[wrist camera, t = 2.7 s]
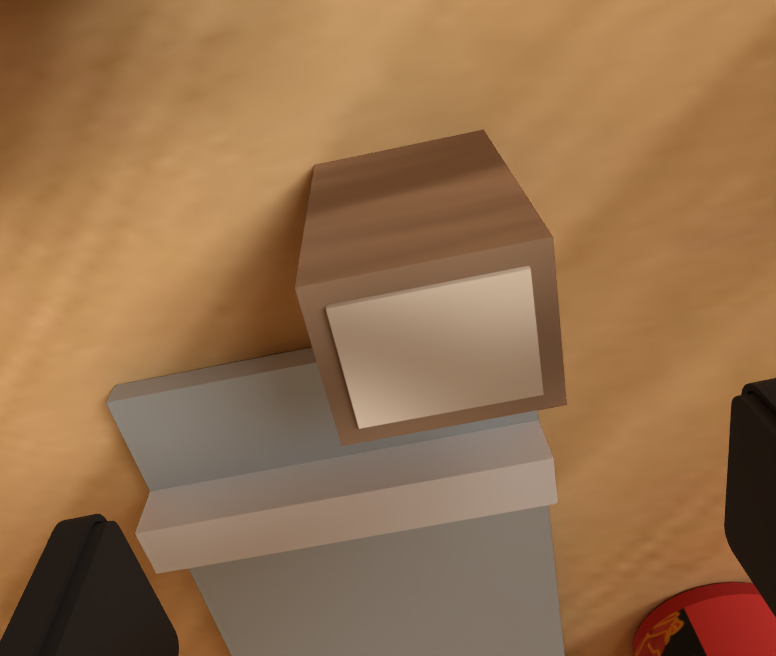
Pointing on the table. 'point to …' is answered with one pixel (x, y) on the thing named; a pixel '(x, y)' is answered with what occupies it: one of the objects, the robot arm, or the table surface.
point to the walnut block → (428, 290)
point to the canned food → (709, 624)
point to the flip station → (343, 518)
